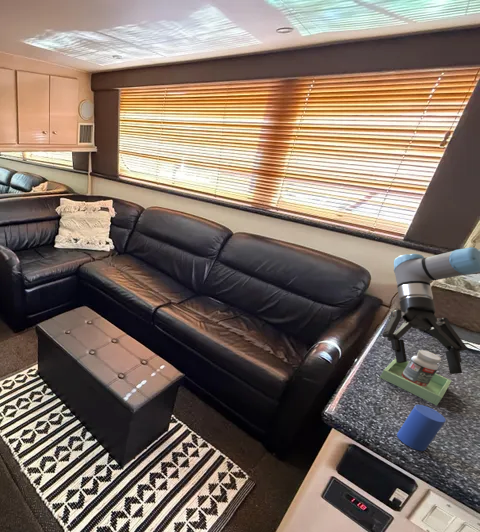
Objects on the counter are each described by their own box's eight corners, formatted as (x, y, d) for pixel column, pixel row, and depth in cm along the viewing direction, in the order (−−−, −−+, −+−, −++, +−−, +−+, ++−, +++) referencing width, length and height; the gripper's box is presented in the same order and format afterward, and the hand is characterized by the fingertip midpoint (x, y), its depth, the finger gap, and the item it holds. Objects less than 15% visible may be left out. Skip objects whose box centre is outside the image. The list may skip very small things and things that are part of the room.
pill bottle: (416, 388, 94) (433, 361, 90) (395, 375, 99) (411, 348, 95) (431, 387, 95) (448, 360, 91) (410, 374, 100) (426, 348, 96)
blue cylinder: (427, 445, 75) (447, 416, 71) (422, 454, 72) (443, 425, 69) (399, 429, 78) (417, 401, 75) (394, 438, 76) (412, 409, 72)
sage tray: (446, 388, 96) (451, 380, 95) (436, 405, 88) (442, 397, 87) (392, 363, 106) (397, 356, 104) (379, 377, 97) (383, 369, 96)
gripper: (450, 311, 102) (466, 379, 94) (363, 296, 107) (370, 359, 99) (474, 304, 95) (493, 376, 87) (380, 288, 100) (389, 355, 92)
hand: (428, 367), depth 93 cm, fingers open, 13 cm apart
